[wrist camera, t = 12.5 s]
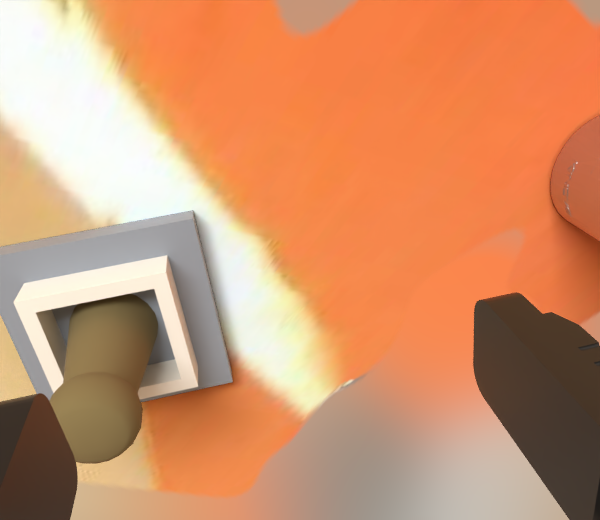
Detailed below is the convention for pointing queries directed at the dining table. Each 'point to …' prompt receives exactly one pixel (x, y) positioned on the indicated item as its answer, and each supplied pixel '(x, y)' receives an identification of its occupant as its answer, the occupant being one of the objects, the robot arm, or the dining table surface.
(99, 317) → the olive brown knobbed peg
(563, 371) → the robot arm
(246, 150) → the dining table surface
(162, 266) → the board
